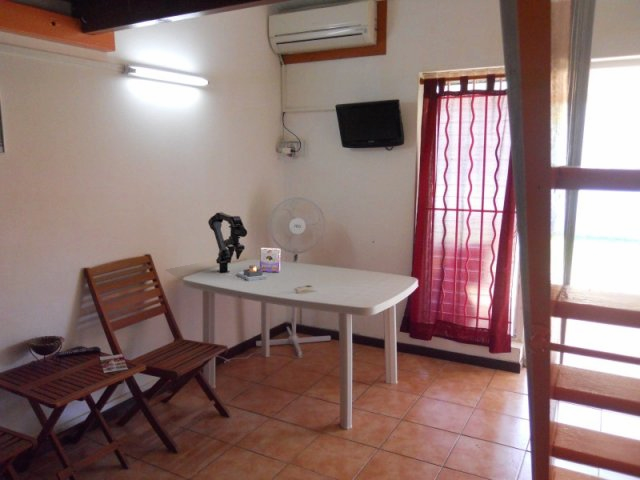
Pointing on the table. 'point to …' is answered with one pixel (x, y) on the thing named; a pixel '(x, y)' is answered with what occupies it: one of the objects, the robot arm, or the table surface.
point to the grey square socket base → (251, 275)
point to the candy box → (270, 259)
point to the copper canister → (252, 268)
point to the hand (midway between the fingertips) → (234, 258)
